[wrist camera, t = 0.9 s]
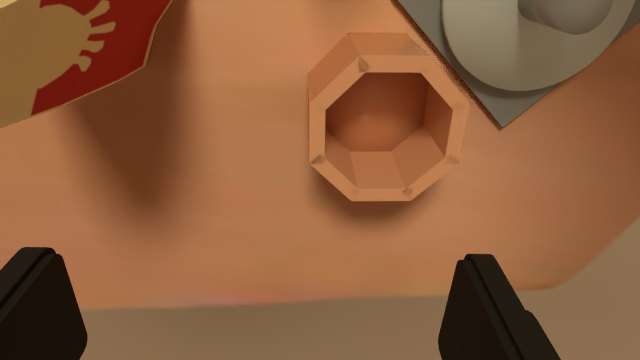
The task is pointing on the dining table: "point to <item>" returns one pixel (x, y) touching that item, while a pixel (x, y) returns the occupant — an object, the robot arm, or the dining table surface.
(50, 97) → the milk carton
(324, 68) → the bowl
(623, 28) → the mat
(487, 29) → the lid
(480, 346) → the robot arm
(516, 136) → the dining table surface
